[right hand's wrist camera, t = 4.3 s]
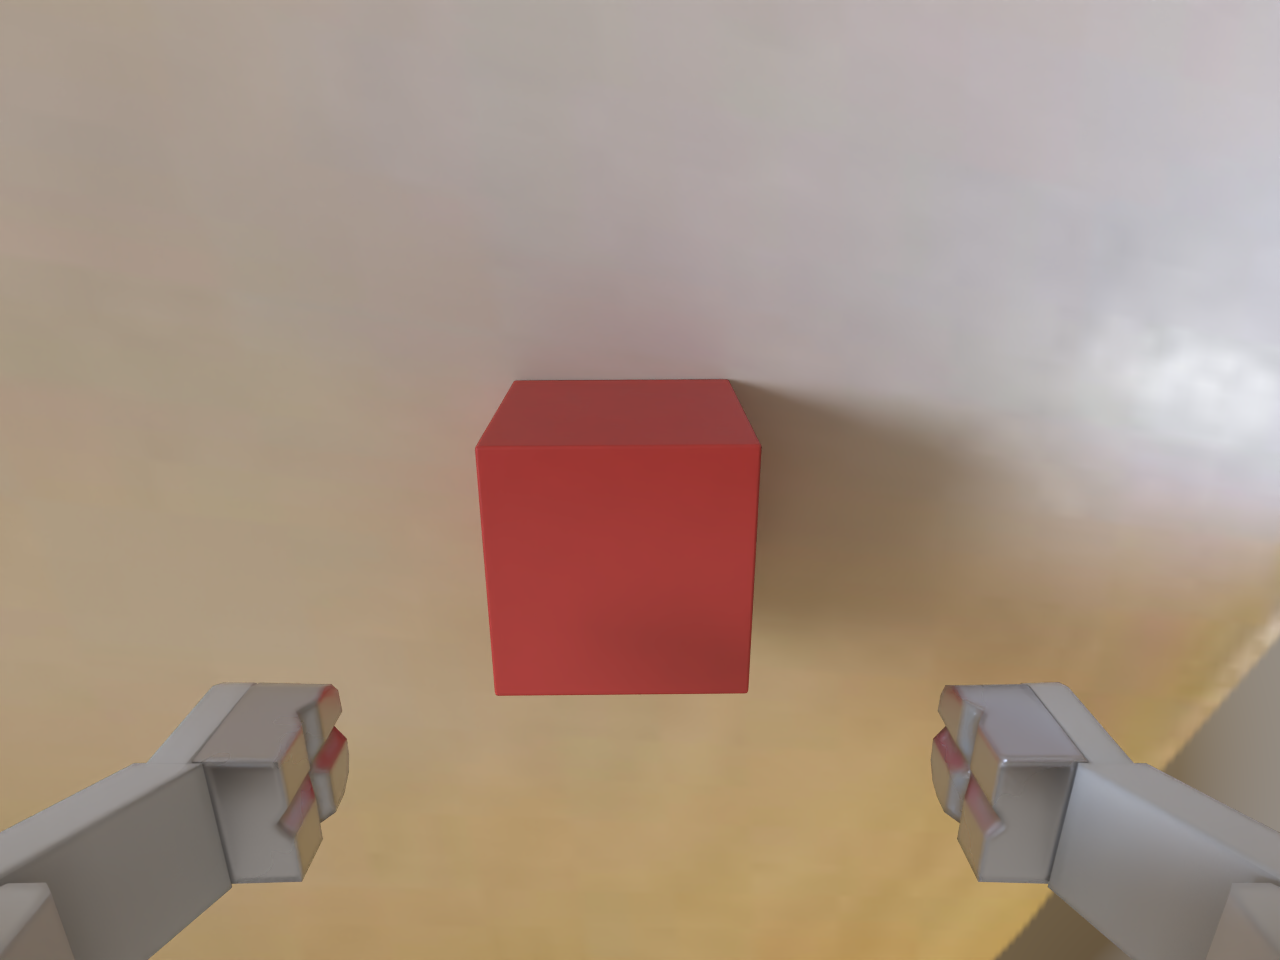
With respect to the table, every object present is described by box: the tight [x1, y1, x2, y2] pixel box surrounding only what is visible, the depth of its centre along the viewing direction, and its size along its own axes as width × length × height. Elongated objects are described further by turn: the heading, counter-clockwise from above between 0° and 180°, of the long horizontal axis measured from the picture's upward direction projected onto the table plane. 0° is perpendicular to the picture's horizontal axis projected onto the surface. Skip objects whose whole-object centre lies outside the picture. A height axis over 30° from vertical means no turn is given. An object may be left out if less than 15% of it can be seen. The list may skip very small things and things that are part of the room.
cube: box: [475, 379, 762, 696], centre depth 16 cm, size 5×5×5 cm
